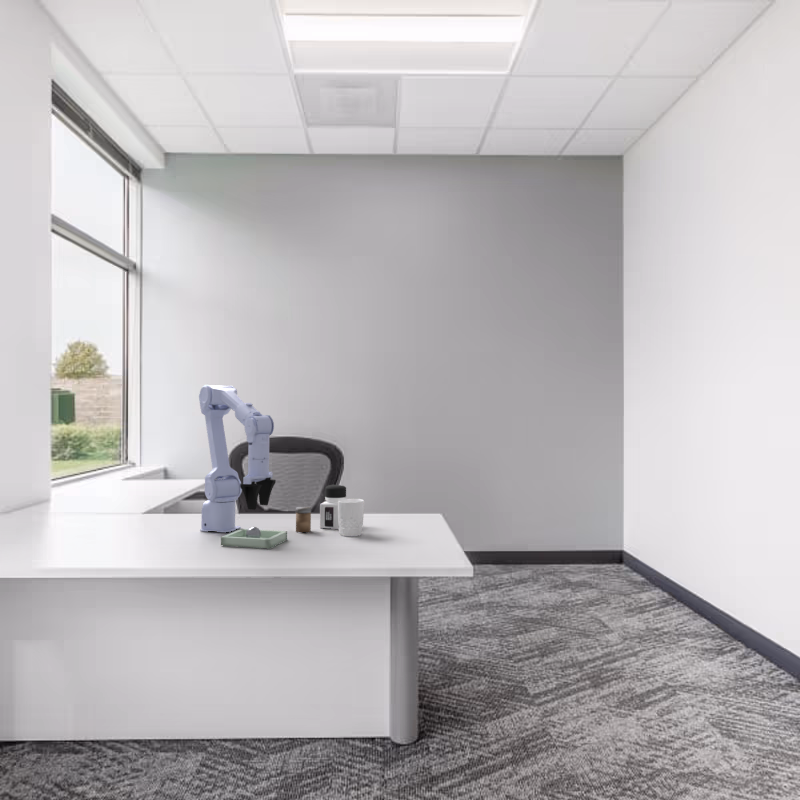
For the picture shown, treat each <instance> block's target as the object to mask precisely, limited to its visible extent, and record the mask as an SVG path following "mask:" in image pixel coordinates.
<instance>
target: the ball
mask: <svg viewBox="0 0 800 800" xmlns="http://www.w3.org/2000/svg"><path fill="white" fill-rule="evenodd" d="M247 529H248V530H247V532H246V537H247V538H260V536H261V531H260V530H261V529H259V528H258V527H257V526H250V527H249V528H247Z"/></svg>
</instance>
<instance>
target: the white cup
mask: <svg viewBox="0 0 800 800" xmlns="http://www.w3.org/2000/svg"><path fill="white" fill-rule="evenodd" d="M364 511H365V500H364V499H362V498H346V499H340V500H338V524H339V529H338V535H339V534H340V535H339V536H341V535H343V536H342V537H358V535H359V536H361V535H363V526H364Z"/></svg>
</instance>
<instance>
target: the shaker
mask: <svg viewBox="0 0 800 800" xmlns="http://www.w3.org/2000/svg"><path fill="white" fill-rule="evenodd" d="M311 514H312V507H310V506H297V507H295V532H296V533H298V532H302V533H301V534H304V533H303V532H307V533H310V532H311V530H312V528H311V526H312V525H311V524H312V519H311V518H312V517H311V516H312V515H311Z"/></svg>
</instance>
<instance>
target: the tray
mask: <svg viewBox="0 0 800 800" xmlns="http://www.w3.org/2000/svg"><path fill="white" fill-rule="evenodd" d="M248 529H249V528H239V529H237V530H234V531H232V532H229V533H228V534H225V535H223V536H221V537H220V546H221V545H223V546H222V547H229V546H238V547H237V548H245V547H251V548H250V549H261V548H267V549H266V550H270V548H271V549H272V548H274V547H276V546H278V545H279V543H280V544H282V543H284V542H286V541H287V540H288V531H285V530H274V529H273V530H270V529H259V530H260V531H261V536H260V538H247V537H246V532H247V530H248ZM285 540H286V541H285ZM283 541H284V542H283ZM281 542H282V543H281ZM277 544H278V545H277ZM275 545H276V546H275Z"/></svg>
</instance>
